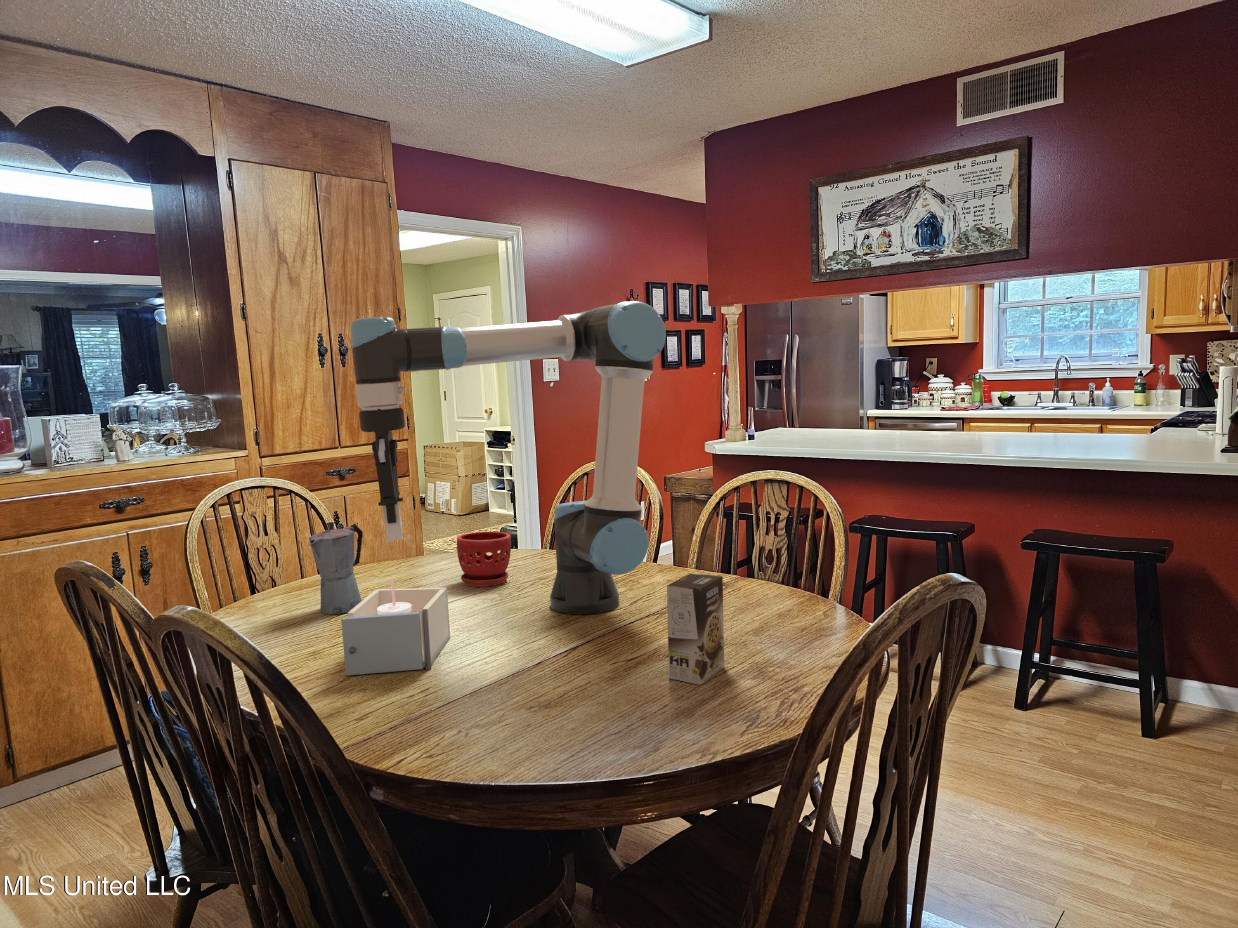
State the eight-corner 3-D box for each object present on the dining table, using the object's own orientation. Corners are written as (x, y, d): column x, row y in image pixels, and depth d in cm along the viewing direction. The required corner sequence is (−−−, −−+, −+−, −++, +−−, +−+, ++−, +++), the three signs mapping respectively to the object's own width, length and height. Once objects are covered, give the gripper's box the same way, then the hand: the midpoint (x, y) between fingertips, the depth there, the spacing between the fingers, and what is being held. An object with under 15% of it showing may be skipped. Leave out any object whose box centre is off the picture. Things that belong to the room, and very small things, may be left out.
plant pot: (508, 588, 192) (506, 539, 190) (454, 590, 192) (451, 541, 191) (516, 574, 205) (514, 528, 203) (465, 576, 205) (462, 530, 203)
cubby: (452, 638, 157) (449, 584, 156) (430, 669, 141) (426, 610, 140) (379, 640, 158) (375, 586, 156) (349, 671, 141) (344, 612, 140)
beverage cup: (404, 646, 150) (399, 573, 149) (421, 653, 146) (416, 579, 144) (374, 655, 146) (368, 580, 145) (390, 663, 142) (385, 586, 140)
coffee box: (702, 686, 130) (700, 588, 128) (667, 679, 133) (664, 584, 131) (726, 667, 137) (724, 575, 135) (692, 661, 141) (690, 571, 139)
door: (423, 665, 142) (419, 611, 141) (422, 670, 140) (418, 614, 139) (347, 672, 140) (342, 616, 139) (344, 676, 138) (340, 620, 137)
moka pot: (300, 616, 175) (292, 526, 173) (348, 596, 189) (342, 513, 187) (334, 620, 172) (327, 528, 169) (381, 600, 186) (375, 515, 183)
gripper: (399, 408, 134) (413, 545, 137) (406, 404, 147) (418, 530, 150) (353, 411, 133) (368, 550, 136) (363, 407, 145) (377, 534, 149)
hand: (394, 539), depth 143 cm, fingers closed
